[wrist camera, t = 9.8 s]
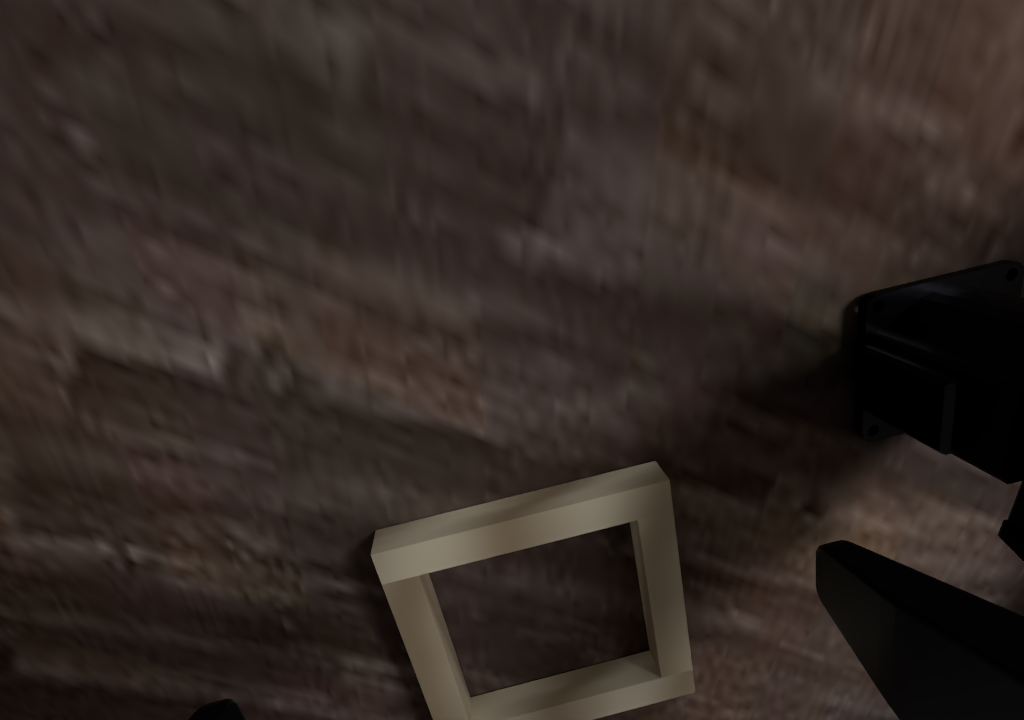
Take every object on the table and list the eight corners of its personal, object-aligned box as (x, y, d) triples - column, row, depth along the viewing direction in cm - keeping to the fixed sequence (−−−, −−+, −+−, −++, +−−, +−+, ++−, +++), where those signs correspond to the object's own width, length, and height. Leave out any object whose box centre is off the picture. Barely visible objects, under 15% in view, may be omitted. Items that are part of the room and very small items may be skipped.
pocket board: (655, 460, 22) (669, 480, 20) (681, 664, 26) (695, 692, 25) (375, 530, 21) (370, 555, 20) (447, 726, 25) (447, 758, 24)
